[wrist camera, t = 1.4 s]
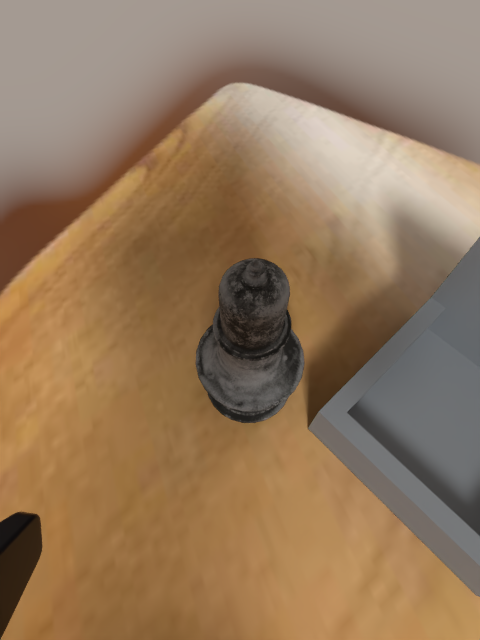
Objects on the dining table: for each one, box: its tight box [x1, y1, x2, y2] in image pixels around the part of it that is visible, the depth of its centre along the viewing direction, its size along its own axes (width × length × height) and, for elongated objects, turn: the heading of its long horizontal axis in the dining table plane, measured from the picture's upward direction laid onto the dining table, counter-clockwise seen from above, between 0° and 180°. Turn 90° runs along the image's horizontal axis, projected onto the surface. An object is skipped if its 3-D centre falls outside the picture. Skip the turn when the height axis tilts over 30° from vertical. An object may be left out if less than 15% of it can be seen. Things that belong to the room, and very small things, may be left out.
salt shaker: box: [196, 258, 304, 423], centre depth 19 cm, size 6×6×12 cm
